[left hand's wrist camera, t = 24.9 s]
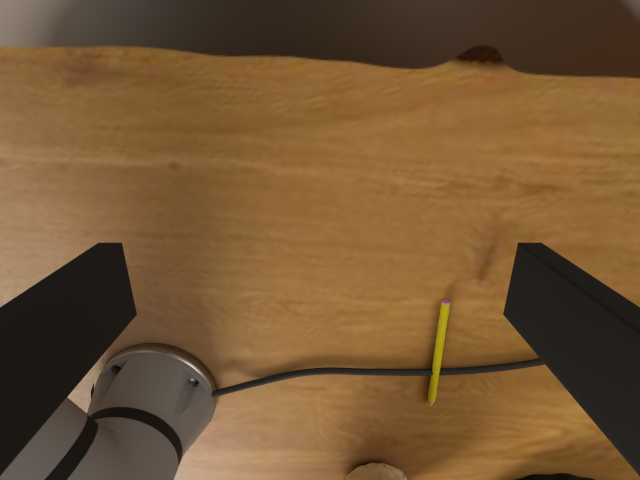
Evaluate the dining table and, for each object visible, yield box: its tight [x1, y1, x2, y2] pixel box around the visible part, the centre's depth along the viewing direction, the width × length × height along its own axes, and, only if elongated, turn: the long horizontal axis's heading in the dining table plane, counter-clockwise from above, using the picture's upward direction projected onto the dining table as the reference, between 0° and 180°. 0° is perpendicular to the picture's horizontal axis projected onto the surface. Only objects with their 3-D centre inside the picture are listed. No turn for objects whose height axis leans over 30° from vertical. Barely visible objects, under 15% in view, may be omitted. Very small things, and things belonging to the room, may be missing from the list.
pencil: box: [428, 299, 450, 407], centre depth 47 cm, size 16×1×1 cm, turn 0°
